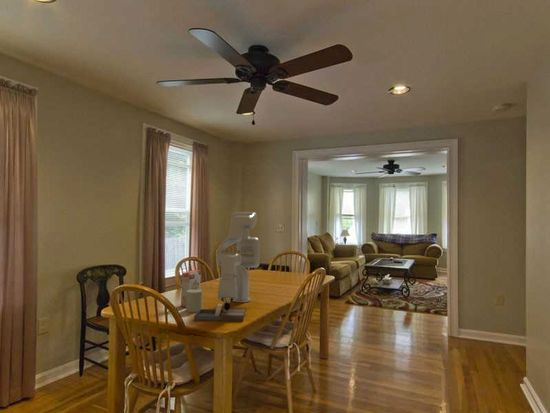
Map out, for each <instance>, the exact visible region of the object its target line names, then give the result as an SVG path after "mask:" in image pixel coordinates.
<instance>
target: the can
mask: <svg viewBox="0 0 550 413" xmlns="http://www.w3.org/2000/svg"><path fill="white" fill-rule="evenodd" d="M202 306H203V290H202V289H201V288H200V289H191V290H187V306H186V307H185V308H186V309H185V311H186V312H188V313H197V312H198V311H199V309H203V307H202Z"/></svg>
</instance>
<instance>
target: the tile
mask: <svg viewBox="0 0 550 413" xmlns="http://www.w3.org/2000/svg"><path fill="white" fill-rule="evenodd" d="M223 304H224V303H223ZM223 304H222V303H220V302H218V304H217V306H216V308H215V309H216V312H215V316H219V315H220V312H221V309H222V308H223V306H224V305H223Z"/></svg>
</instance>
